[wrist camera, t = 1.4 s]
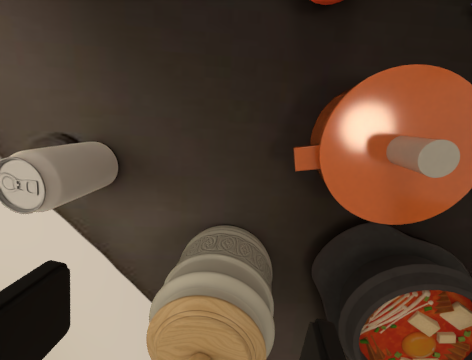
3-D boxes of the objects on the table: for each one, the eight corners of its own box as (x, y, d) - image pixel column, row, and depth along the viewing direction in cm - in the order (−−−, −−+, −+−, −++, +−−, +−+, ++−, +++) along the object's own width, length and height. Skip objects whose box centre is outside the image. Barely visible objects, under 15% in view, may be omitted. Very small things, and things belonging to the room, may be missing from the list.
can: (76, 137, 35) (-18, 147, 23) (120, 145, 34) (47, 158, 23) (77, 182, 37) (-11, 211, 25) (119, 189, 36) (50, 223, 24)
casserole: (278, 270, 36) (282, 314, 28) (389, 186, 32) (431, 209, 24) (389, 381, 39) (421, 451, 30) (507, 317, 34) (583, 380, 26)
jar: (170, 275, 38) (94, 399, 21) (208, 206, 35) (155, 289, 18) (244, 316, 39) (227, 471, 22) (289, 252, 35) (311, 376, 18)
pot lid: (312, 80, 24) (328, 67, 18) (488, 53, 21) (574, 28, 15) (321, 225, 27) (337, 256, 21) (474, 214, 25) (542, 244, 19)
